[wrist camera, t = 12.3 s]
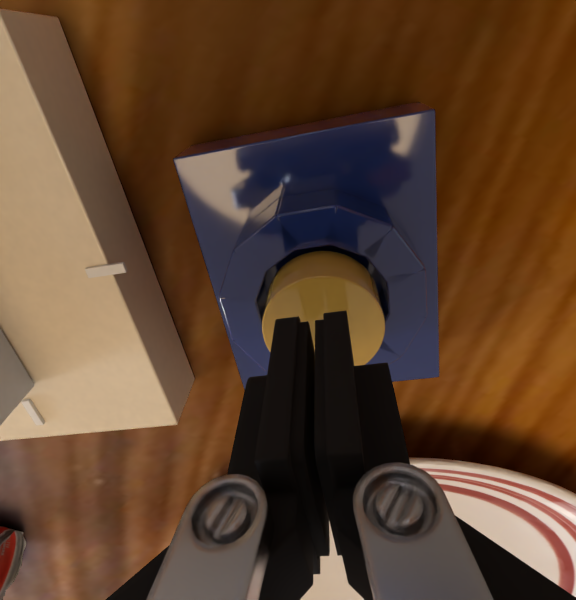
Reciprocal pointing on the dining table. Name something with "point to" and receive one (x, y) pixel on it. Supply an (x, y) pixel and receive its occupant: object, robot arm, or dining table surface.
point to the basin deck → (74, 257)
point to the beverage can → (10, 557)
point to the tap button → (327, 299)
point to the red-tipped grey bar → (11, 379)
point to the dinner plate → (489, 522)
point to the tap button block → (323, 222)
